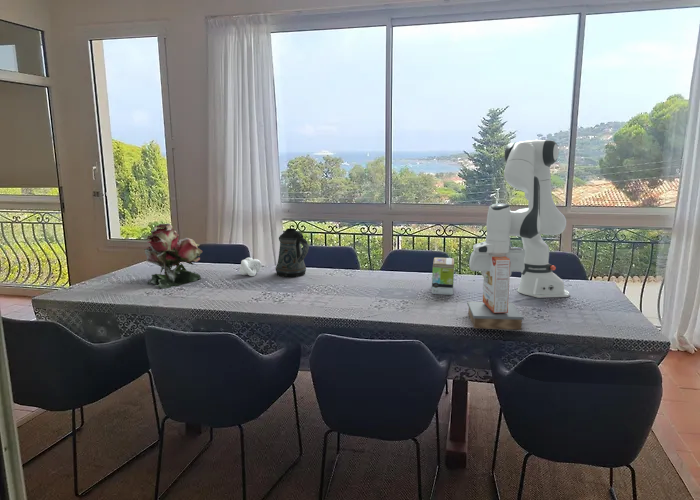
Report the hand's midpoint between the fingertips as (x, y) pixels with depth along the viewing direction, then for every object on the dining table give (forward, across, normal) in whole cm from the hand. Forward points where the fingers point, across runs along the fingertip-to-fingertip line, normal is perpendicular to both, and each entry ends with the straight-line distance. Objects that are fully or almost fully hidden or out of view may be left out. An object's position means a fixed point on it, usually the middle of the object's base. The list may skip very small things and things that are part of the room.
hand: (495, 282), depth 189 cm
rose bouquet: (+16, +155, -51) cm, 164 cm away
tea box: (+16, +16, -43) cm, 49 cm away
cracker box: (+10, 0, 0) cm, 10 cm away
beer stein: (+16, +94, -69) cm, 118 cm away
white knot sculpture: (+16, +118, -66) cm, 136 cm away
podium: (+16, 0, 0) cm, 16 cm away
